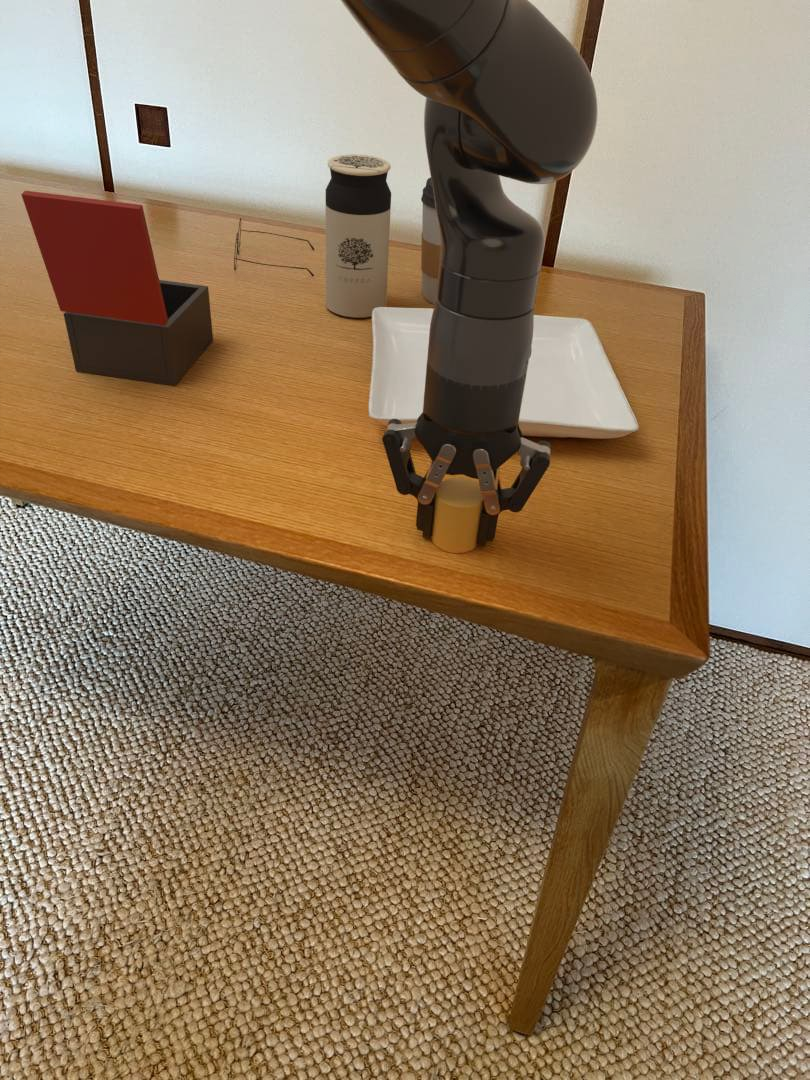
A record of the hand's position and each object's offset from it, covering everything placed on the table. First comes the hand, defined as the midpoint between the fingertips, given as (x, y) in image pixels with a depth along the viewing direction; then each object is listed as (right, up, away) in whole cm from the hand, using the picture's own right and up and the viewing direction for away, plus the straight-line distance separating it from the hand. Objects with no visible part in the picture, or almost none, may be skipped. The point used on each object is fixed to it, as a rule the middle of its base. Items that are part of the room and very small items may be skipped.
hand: (455, 535), depth 71 cm
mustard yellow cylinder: (0, 0, 0) cm, 0 cm away
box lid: (-34, +27, +9) cm, 45 cm away
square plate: (+5, +17, +22) cm, 28 cm away
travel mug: (-11, +30, +37) cm, 49 cm away
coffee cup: (+1, +33, +41) cm, 53 cm away
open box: (-34, +21, +23) cm, 46 cm away
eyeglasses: (-23, +40, +47) cm, 66 cm away
